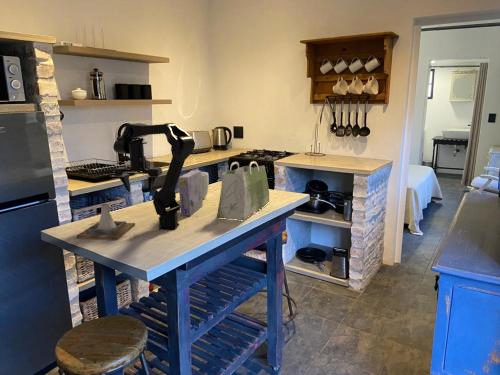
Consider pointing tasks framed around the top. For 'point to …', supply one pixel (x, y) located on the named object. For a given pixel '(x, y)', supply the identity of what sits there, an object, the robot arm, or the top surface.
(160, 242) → the top surface
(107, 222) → the flask
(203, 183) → the mug
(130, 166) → the robot arm
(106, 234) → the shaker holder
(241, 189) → the grocery bag
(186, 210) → the cake pan box
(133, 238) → the top surface
